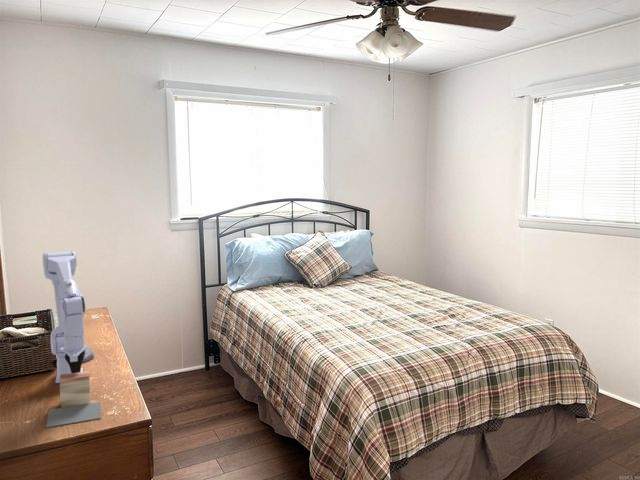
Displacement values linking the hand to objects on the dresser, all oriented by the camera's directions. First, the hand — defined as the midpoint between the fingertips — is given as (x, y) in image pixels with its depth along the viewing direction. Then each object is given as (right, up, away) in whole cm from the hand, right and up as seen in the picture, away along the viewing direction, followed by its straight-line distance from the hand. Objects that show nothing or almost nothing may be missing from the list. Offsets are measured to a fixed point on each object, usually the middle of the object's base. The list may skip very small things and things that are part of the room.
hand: (76, 374), depth 152 cm
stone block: (-14, -2, +27) cm, 31 cm away
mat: (+5, -9, -11) cm, 15 cm away
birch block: (+2, -8, -4) cm, 9 cm away
